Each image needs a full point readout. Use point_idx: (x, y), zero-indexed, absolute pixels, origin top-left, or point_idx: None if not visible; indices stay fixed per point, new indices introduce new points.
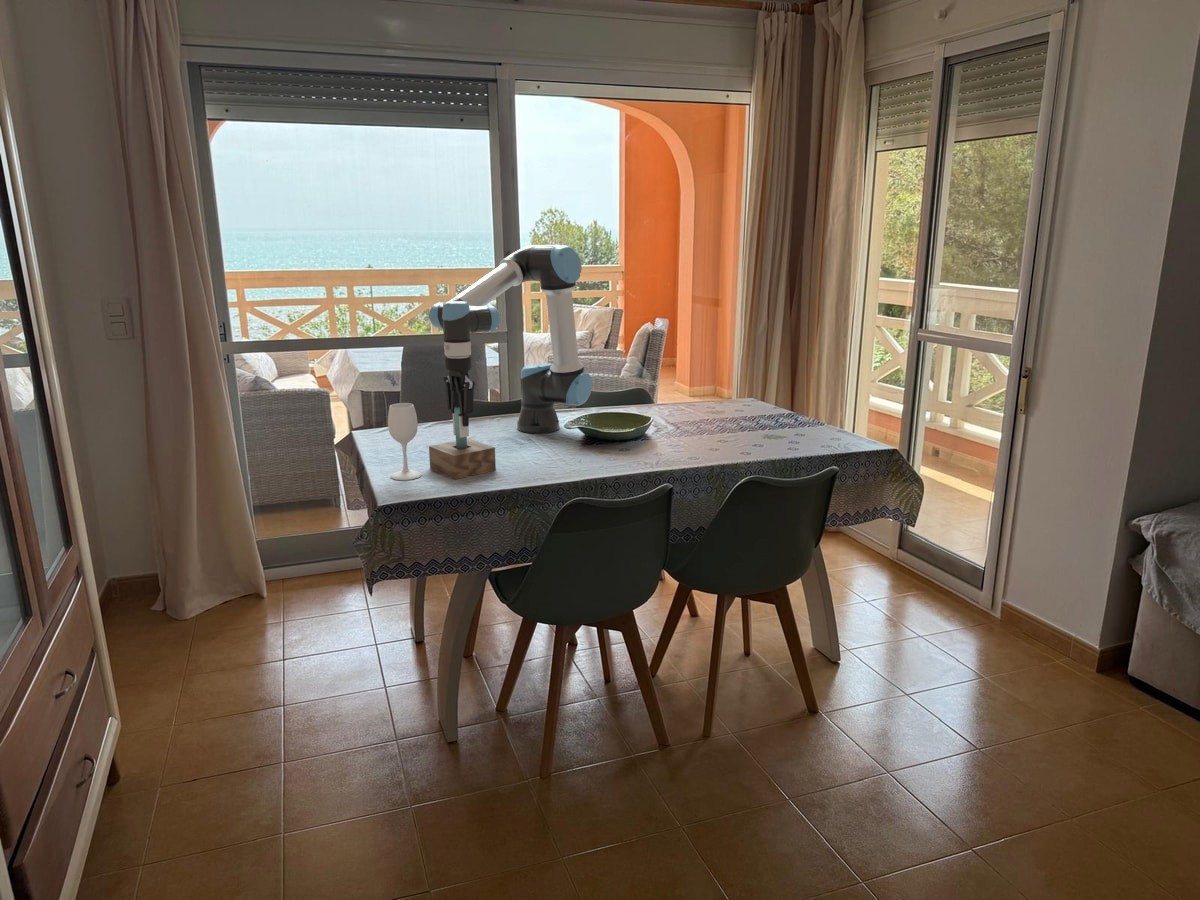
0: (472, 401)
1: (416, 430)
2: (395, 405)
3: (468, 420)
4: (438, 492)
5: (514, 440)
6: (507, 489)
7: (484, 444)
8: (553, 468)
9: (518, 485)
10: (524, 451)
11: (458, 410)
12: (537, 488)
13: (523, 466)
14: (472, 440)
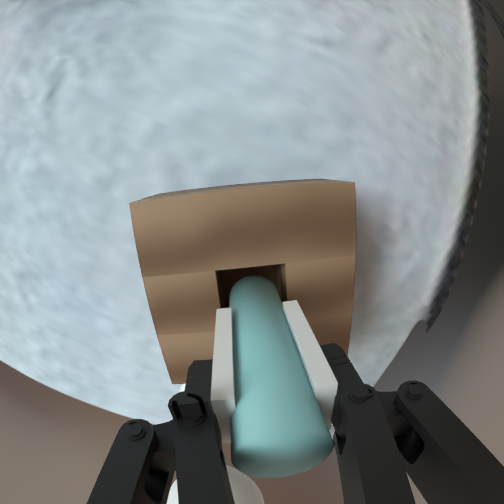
0: (477, 448)
1: (248, 488)
2: None
3: (352, 366)
4: (370, 375)
5: (65, 6)
6: (453, 247)
7: (280, 193)
8: (393, 48)
9: (451, 210)
10: (178, 4)
11: (312, 460)
12: (479, 191)
13: (334, 86)
14: (173, 206)
